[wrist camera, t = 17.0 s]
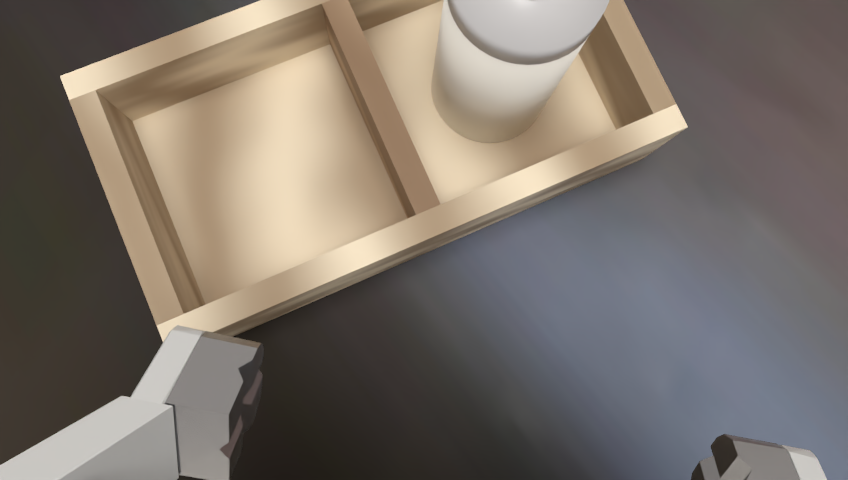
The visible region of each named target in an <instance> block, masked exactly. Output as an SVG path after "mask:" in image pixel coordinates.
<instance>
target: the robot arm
mask: <svg viewBox="0 0 848 480" xmlns="http://www.w3.org/2000/svg"><path fill="white" fill-rule="evenodd" d="M263 358H264V345H263V344H262V343H258V342H253V341H249V340H244V339H240V338H235V337H231V336H226V335H222V334H217V333H213V332H208V331H202V330H198V329H193V328H189V327H184V326H179V325H177V326H176V327H174V328H173V329H172V330H171V331H170V332H169V334H168V335H167V337H166V339H165V340H164V342H163V344H162V345H161V347H160V349H159V350H158V352H157V354H156V355H155V357H154V359H153V360H152V362H151V364H150V365H149V367H148V369H147V370H146V372H145V374H144V375H143V377H142V379H141V380H140V382H139V384H138V385H137V387H136V389H135V390H134V392H133V394H132V395H131V397H126V396H120V397H118V398H117V399H115V400H113V401H112V402H110V403H108V404H106V405H105V406H103V407H101V408H99V409H98V410H96V411H94V412H92V413H91V414H89V415H87V416H85V417H84V418H82V419H80V420H78V421H77V422H75V423H73V424H71V425H70V426H68V427H66V428H64V429H63V430H61V431H59V432H57V433H56V434H54V435H52V436H51V437H49V438H47V439H45V440H44V441H42V442H40V443H38V444H37V445H35V446H33V447H31V448H30V449H28V450H26V451H24V452H23V453H21V454H19V455H17V456H16V457H14V458H12V459H10V460H9V461H7V462H5V463H3V464H2V465H0V480H177V479H178V478H179V475H183V476H189V477H195V478H201V479H207V480H231V477H232V475H233V472H234V470H235V467H236V465H237V462H238V460H239V457H240V454H241V452H242V446H243V433H244V432H245V431H247V430H248V429H250V428H251V426H252V423H253V421H254V418H255V415H256V412H257V408H258V405H259V401H260V397H261V391H262V383H263V375H262V374H261V373H260V371H259V368H260V366H261V363H262V361H263ZM711 449H712V453H713V456H711V457H709V458H706V459H704V460H702V461H700V462H699V463H698V465H697V466H696V468H695V470H694V471H693V473H692V477H691V480H827V479H826V476H825V474H824V472H823V470H822V468H821V466H820V463H819V461H818V459H817V457H816V456H815V455H814V454H813V453H812V452H811V451H810V450H805V449H800V448H794V447H789V446H784V445H778V444H775V443H770V442H764V441H759V440H754V439H748V438H743V437H737V436H732V435H727V434H723V435H721V436H719V437H717V438H716V440H715V441H714V442H713V444H712V445H711Z"/></svg>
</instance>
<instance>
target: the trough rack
mask: <svg viewBox="0 0 848 480" xmlns="http://www.w3.org/2000/svg"><path fill="white" fill-rule="evenodd" d="M443 1H444V0H260V1H258V2H255V3H253V4H250V5H247V6H245V7H242V8H239V9H237V10H234V11H231V12H229V13H226V14H223V15H221V16H218V17H215V18H213V19H210V20H208V21H205V22H202V23H200V24H197V25H194V26H192V27H189V28H186V29H184V30H181V31H178V32H176V33H173V34H170V35H168V36H165V37H162V38H160V39H157V40H155V41H152V42H149V43H147V44H144V45H141V46H139V47H136V48H133V49H131V50H128V51H125V52H123V53H120V54H117V55H115V56H112V57H110V58H107V59H104V60H102V61H99V62H96V63H94V64H91V65H88V66H86V67H83V68H80V69H78V70H75V71H72V72H70V73H67V74H64V75H62V76H60V78H61V80H62V83H63V85H64V88H65V91H66V93H67V96H68V98H69V101H70V103H71V106H72V109H73V111H74V114H75V116H76V119H77V122H78V124H79V127H80V129H81V132H82V134H83V137H84V140H85V142H86V145H87V147H88V150H89V152H90V155H91V158H92V160H93V163H94V165H95V168H96V171H97V173H98V176H99V178H100V181H101V183H102V186H103V189H104V191H105V194H106V196H107V199H108V201H109V204H110V207H111V209H112V212H113V214H114V217H115V219H116V222H117V225H118V227H119V230H120V232H121V235H122V238H123V240H124V243H125V245H126V248H127V250H128V253H129V256H130V258H131V261H132V263H133V266H134V268H135V271H136V274H137V276H138V279H139V281H140V284H141V286H142V289H143V292H144V294H145V297H146V299H147V302H148V305H149V307H150V310H151V312H152V315H153V317H154V320H155V323H156V325H157V328H158V330H159V333H160V335H161V338H162V341H163V342H164V340H165V339H166V337H167V335H168V334H169V332H170V331H171V330H172V329H173V328H174V327H176V326H177V325H179V326H184V327H189V328H193V329H198V330H202V331H208V332H213V333H217V334H222V335H226V336H231V337H233V336H235V335H238V334H240V333H242V332H245V331H247V330H249V329H251V328H254V327H256V326H258V325H261V324H263V323H265V322H268V321H270V320H272V319H274V318H277V317H279V316H281V315H284V314H286V313H288V312H291V311H293V310H295V309H298V308H300V307H302V306H304V305H307V304H309V303H311V302H314V301H316V300H318V299H321V298H323V297H325V296H328V295H330V294H332V293H334V292H337V291H339V290H341V289H344V288H346V287H348V286H351V285H353V284H355V283H357V282H360V281H362V280H364V279H367V278H369V277H371V276H374V275H376V274H378V273H381V272H383V271H385V270H387V269H390V268H392V267H394V266H397V265H399V264H401V263H404V262H406V261H408V260H410V259H413V258H415V257H417V256H420V255H422V254H424V253H427V252H429V251H431V250H434V249H436V248H438V247H440V246H443V245H445V244H447V243H450V242H452V241H454V240H457V239H459V238H461V237H464V236H466V235H468V234H470V233H473V232H475V231H477V230H480V229H482V228H484V227H487V226H489V225H491V224H493V223H496V222H498V221H500V220H503V219H505V218H507V217H510V216H512V215H514V214H517V213H519V212H521V211H523V210H526V209H528V208H530V207H533V206H535V205H537V204H540V203H542V202H544V201H547V200H549V199H551V198H553V197H556V196H558V195H560V194H563V193H565V192H567V191H570V190H572V189H574V188H576V187H579V186H581V185H583V184H586V183H588V182H590V181H593V180H595V179H597V178H600V177H602V176H604V175H606V174H609V173H611V172H613V171H616V170H618V169H620V168H623V167H625V166H627V165H629V164H632V163H634V162H636V161H639V160H641V159H643V158H645V157H646V156H647V155H649V154H650V153H652V152H653V151H655V150H656V149H657V148H659V147H660V146H662V145H663V144H664V143H666V142H667V141H669V140H670V139H672V138H673V137H674V136H676V135H677V134H679V133H680V132H681V131H683V130H684V129H686V128H687V127H688V126H687V124H686V122H685V120H684V119H683V117H682V115H681V113H680V111H679V109H678V107H677V105H676V103H675V101H674V99H673V97H672V95H671V93H670V91H669V89H668V87H667V85H666V83H665V81H664V79H663V77H662V75H661V73H660V71H659V69H658V67H657V65H656V63H655V61H654V59H653V57H652V56H651V54H650V52H649V50H648V48H647V46H646V44H645V42H644V40H643V38H642V36H641V34H640V32H639V30H638V28H637V26H636V24H635V22H634V20H633V18H632V16H631V14H630V12H629V10H628V8H627V6H626V4H625V2H624V0H609V3H608V5H607V7H606V10H605V12H604V13H603V15H602V17H601V18H600V20H599V21H598V23H597V24H596V26H595V28H594V29H593V31H592V32H591V34H590V35H589V37H588V39H587V40H586V42H585V43H584V45H583V46H582V48H581V49H580V51H579V53H578V54H577V56H576V57H575V59H574V60H573V62H572V64H571V65H570V67H569V68H568V70H567V71H566V73H565V75H564V76H563V78H562V79H561V81H560V82H559V84H558V85H557V87H556V89H555V90H554V92H553V93H552V95H551V96H550V98H549V100H548V101H547V103H546V104H545V106H544V107H543V109H542V110H541V112H540V114H539V115H538V117H537V118H536V120H535V121H534V122H533V124H532V125H531V126H530V127H529V128H528V129H527V130H526V131H524V132H523V133H521V134H520V135H518V136H516V137H514V138H512V139H510V140H507V141H503V142H497V143H483V142H477V141H473V140H470V139H467V138H465V137H463V136H461V135H459V134H458V133H456V132H455V131H454V130H452V129H451V128H450V127H449V126H448V125H447V124H446V123H445V122H444V121H443V119H442V118H441V117H440V115H439V113H438V111H437V110H436V107H435V105H434V102H433V97H432V90H431V84H432V75H433V69H434V62H435V55H436V48H437V42H438V35H439V28H440V21H441V15H442V8H443Z"/></svg>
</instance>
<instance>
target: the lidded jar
mask: <svg viewBox="0 0 848 480" xmlns="http://www.w3.org/2000/svg"><path fill="white" fill-rule="evenodd" d="M608 3H609V0H444V1H443V8H442V15H441V21H440V28H439V35H438V42H437V48H436V55H435V62H434V69H433V75H432V84H431V90H432V97H433V102H434V105H435V107H436V110H437V111H438V113H439V115H440V117H441V118H442V119H443V121H444V122H445V123H446V124H447V125H448V126H449V127H450V128H451V129H452V130H454V131H455V132H456V133H458V134H459V135H461V136H463V137H465V138H467V139H470V140H473V141H477V142H483V143H497V142H503V141H507V140H510V139H512V138H514V137H516V136H518V135H520V134H521V133H523V132H524V131H526V130H527V129H528V128H529V127H530V126H531V125H532V124H533V122H534V121H535V120H536V118H537V117H538V115H539V114H540V112H541V110H542V109H543V107H544V106H545V104H546V103H547V101H548V100H549V98H550V96H551V95H552V93H553V92H554V90H555V89H556V87H557V85H558V84H559V82H560V81H561V79H562V78H563V76H564V75H565V73H566V71H567V70H568V68H569V67H570V65H571V64H572V62H573V60H574V59H575V57H576V56H577V54H578V53H579V51H580V49H581V48H582V46H583V45H584V43H585V42H586V40H587V39H588V37H589V35H590V34H591V32H592V31H593V29H594V28H595V26H596V24H597V23H598V21H599V20H600V18H601V17H602V15H603V13H604V12H605V10H606V7H607V5H608Z"/></svg>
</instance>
